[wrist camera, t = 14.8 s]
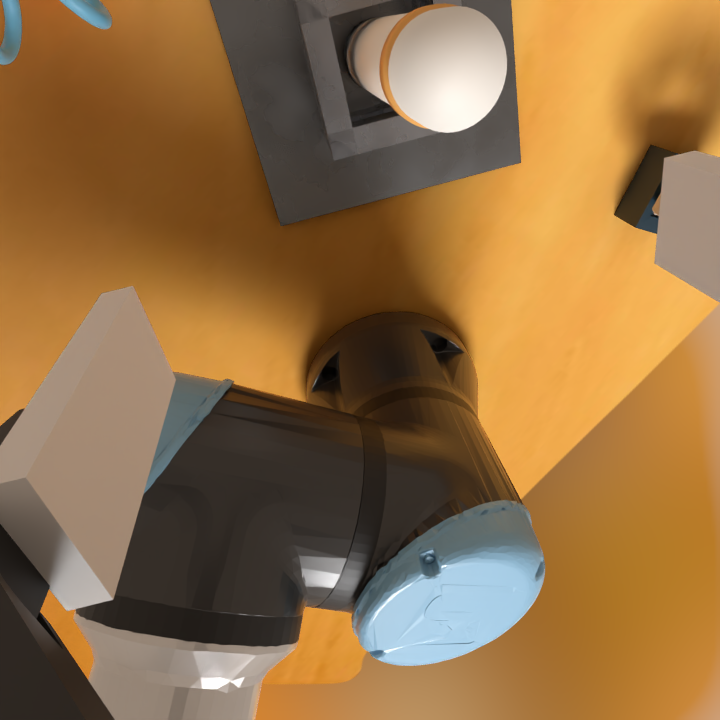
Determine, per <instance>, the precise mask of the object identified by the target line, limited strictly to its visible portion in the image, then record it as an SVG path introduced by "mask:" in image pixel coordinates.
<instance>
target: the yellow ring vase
mask: <svg viewBox="0 0 720 720" xmlns="http://www.w3.org/2000/svg"><path fill="white" fill-rule="evenodd" d="M59 1H61V2H62V3H63V4H64V5H65V6H66V7H68V8H69V9H70V10H71V11H73V12H74V13H75V14H77V15H78V16H79V17H81V18H82V19H84V20H85V21H87V22H88V23H90V24H91V25H93V26H95V27H97V28H100V29H108V28H110V27H111V25H112V17H111V15H110V13H109V11H108V10H107V9H106V7H105V6H104V5H103V4H102V2H101V1H100V0H59ZM2 3H3V9H4V17H5V31H4V38H3V42H2V44H1V46H0V65H7V64H10V63H12V62H13V61H14V60H15V58H16V57H17V55H18V52H19V49H20V45H21V39H22V16H21V9H20V4H19V0H2Z"/></svg>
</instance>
